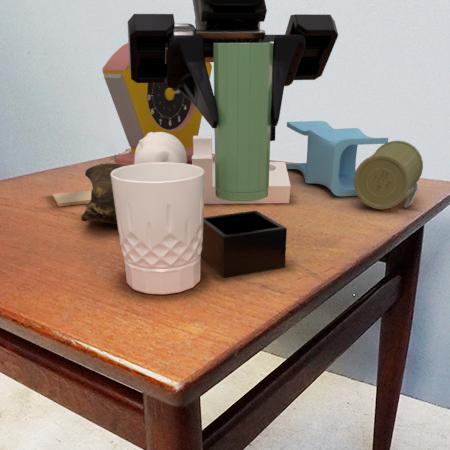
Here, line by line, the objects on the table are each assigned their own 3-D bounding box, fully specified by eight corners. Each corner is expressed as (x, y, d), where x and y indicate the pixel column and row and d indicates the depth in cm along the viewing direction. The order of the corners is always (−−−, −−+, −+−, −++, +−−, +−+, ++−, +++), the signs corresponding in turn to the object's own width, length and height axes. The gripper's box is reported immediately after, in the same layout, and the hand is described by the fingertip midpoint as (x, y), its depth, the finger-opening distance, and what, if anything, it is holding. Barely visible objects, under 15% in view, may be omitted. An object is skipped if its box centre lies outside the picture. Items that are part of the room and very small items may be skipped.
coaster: (91, 193, 79) (91, 190, 79) (99, 202, 75) (98, 198, 74) (53, 197, 77) (52, 193, 77) (58, 206, 73) (57, 203, 72)
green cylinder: (253, 186, 54) (256, 42, 49) (277, 198, 50) (283, 42, 44) (207, 191, 52) (204, 42, 47) (228, 203, 48) (227, 42, 43)
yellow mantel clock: (138, 175, 89) (127, 29, 80) (102, 168, 94) (88, 30, 85) (222, 155, 105) (221, 31, 95) (187, 150, 110) (183, 31, 101)
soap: (137, 158, 102) (136, 153, 102) (114, 157, 103) (113, 152, 103) (151, 150, 111) (151, 146, 111) (130, 149, 112) (129, 145, 112)
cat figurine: (161, 128, 72) (166, 114, 83) (98, 172, 74) (111, 153, 85) (198, 182, 76) (198, 162, 86) (137, 222, 78) (145, 198, 89)
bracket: (194, 210, 74) (191, 158, 69) (195, 185, 80) (193, 135, 75) (288, 209, 74) (293, 157, 69) (283, 184, 80) (287, 134, 75)
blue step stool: (330, 197, 76) (284, 169, 94) (381, 194, 78) (326, 167, 95) (335, 139, 73) (286, 121, 90) (388, 137, 74) (330, 120, 92)
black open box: (255, 246, 58) (256, 210, 56) (285, 267, 53) (287, 227, 51) (199, 255, 56) (198, 217, 54) (223, 278, 50) (223, 237, 49)
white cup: (124, 265, 53) (115, 162, 49) (204, 263, 54) (202, 161, 49) (116, 300, 46) (105, 183, 42) (209, 296, 47) (207, 180, 42)
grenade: (379, 228, 71) (405, 195, 82) (427, 199, 66) (447, 169, 78) (342, 175, 70) (373, 149, 81) (388, 143, 65) (414, 120, 77)
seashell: (90, 198, 75) (97, 147, 72) (154, 212, 76) (163, 162, 73) (64, 234, 60) (71, 172, 57) (145, 250, 61) (155, 190, 58)
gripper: (118, -101, 43) (136, 54, 38) (339, -92, 46) (382, 52, 41) (123, 15, 53) (138, 149, 48) (304, 16, 57) (335, 141, 52)
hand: (245, 124), depth 47 cm, fingers closed on green cylinder, 5 cm apart
